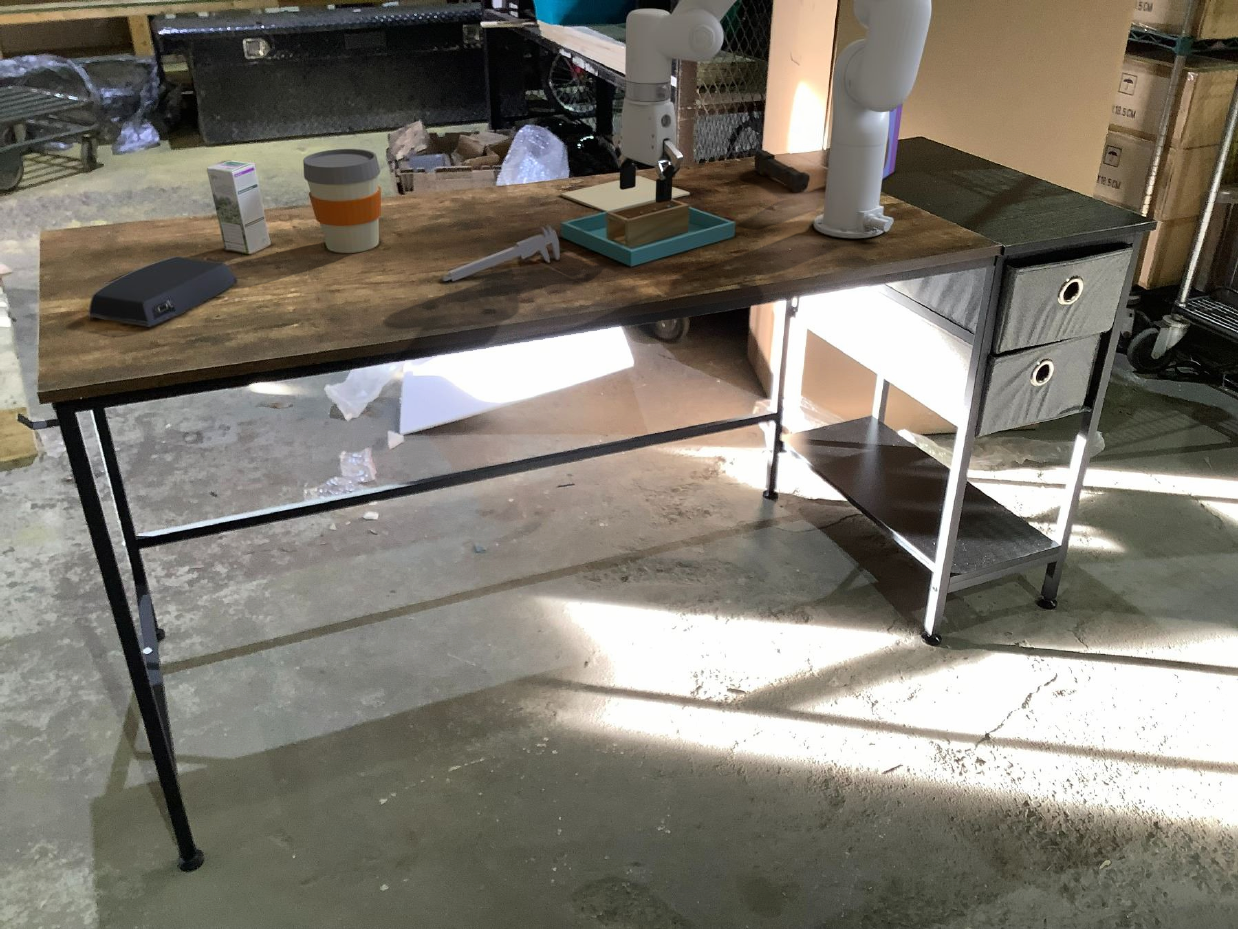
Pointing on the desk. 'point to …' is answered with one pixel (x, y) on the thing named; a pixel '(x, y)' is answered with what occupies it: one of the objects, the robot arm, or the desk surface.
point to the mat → (618, 194)
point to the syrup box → (239, 206)
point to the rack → (647, 223)
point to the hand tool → (780, 171)
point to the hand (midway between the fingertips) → (645, 194)
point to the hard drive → (160, 291)
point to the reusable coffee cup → (345, 197)
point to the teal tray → (700, 233)
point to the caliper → (512, 254)
